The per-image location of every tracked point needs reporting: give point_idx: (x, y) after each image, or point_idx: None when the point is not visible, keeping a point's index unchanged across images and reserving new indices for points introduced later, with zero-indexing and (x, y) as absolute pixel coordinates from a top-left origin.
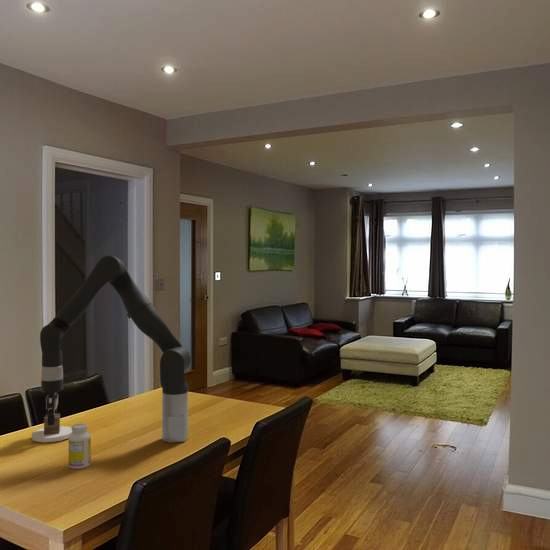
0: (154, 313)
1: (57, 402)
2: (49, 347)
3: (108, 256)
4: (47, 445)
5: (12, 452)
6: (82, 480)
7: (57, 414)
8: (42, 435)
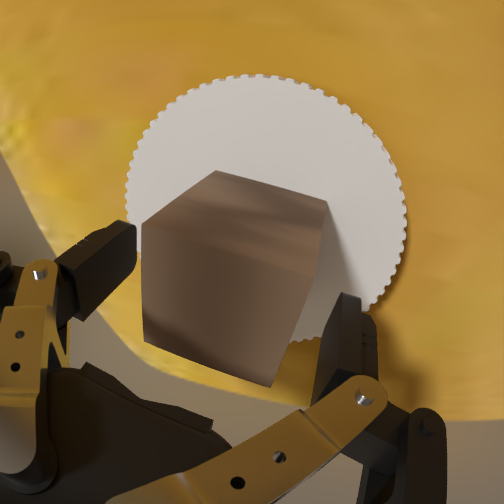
0: None
1: (43, 336)
2: None
3: None
4: (410, 277)
5: (391, 401)
6: None
7: (172, 258)
8: (305, 303)
